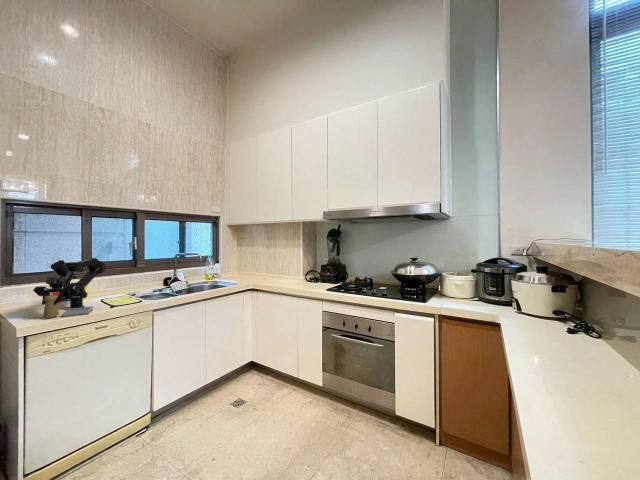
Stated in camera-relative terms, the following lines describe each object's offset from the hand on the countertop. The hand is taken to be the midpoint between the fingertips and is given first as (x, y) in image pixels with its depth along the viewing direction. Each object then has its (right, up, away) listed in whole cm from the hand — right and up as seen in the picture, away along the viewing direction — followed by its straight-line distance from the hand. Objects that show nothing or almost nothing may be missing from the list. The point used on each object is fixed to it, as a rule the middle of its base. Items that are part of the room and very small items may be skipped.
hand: (48, 304), depth 138 cm
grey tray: (+7, -8, +9) cm, 14 cm away
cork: (0, -7, +1) cm, 7 cm away
